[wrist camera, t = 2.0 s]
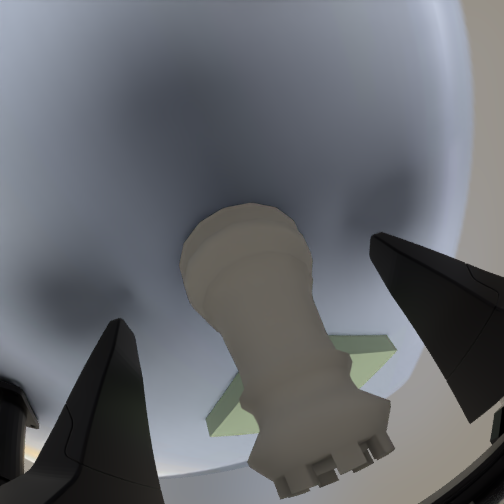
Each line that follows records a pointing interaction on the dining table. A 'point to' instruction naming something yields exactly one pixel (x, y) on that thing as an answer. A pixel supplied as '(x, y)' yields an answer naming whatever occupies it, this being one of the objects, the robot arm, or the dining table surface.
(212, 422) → the sage block
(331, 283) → the dining table surface
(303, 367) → the rook chess piece
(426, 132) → the dining table surface
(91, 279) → the dining table surface
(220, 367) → the dining table surface
